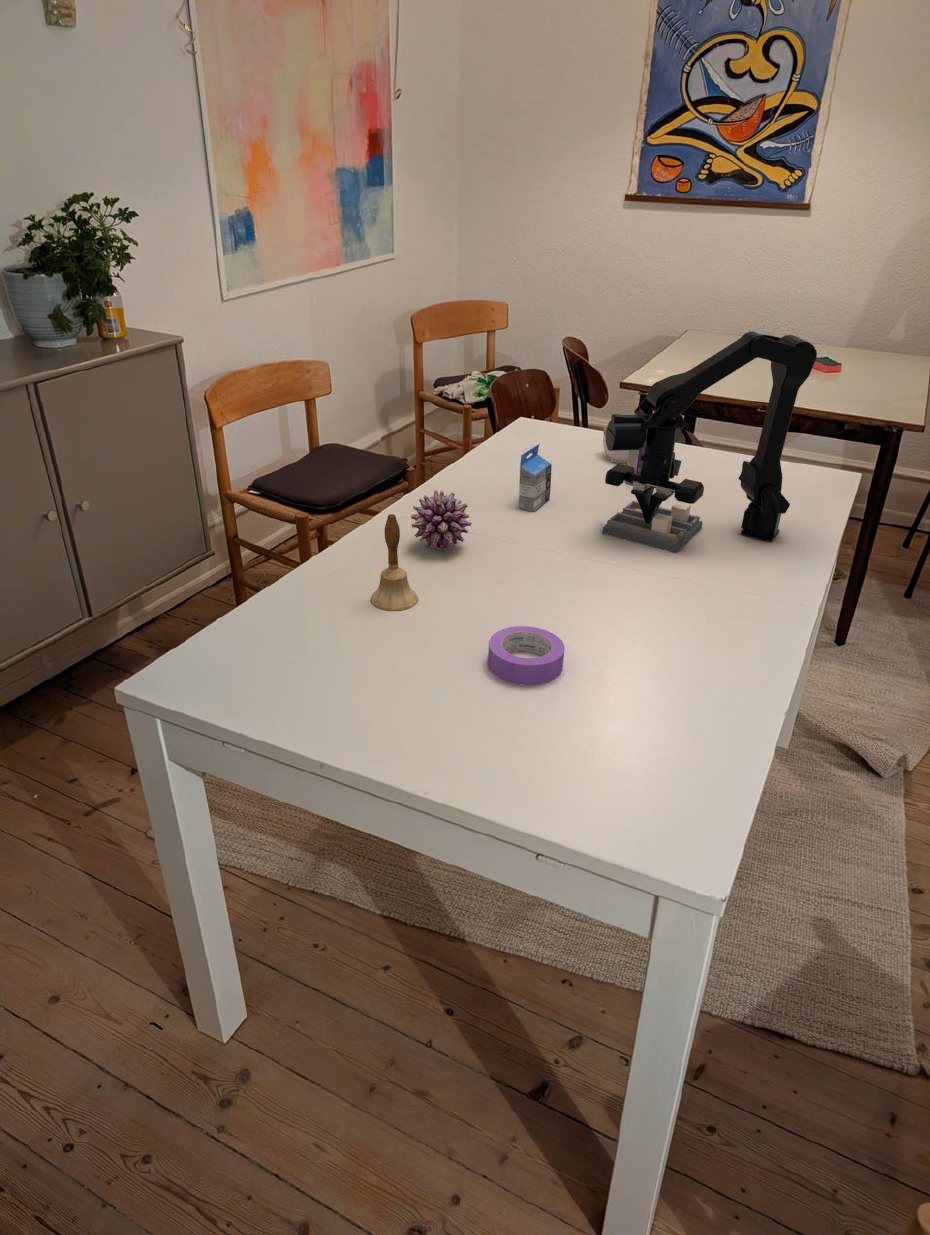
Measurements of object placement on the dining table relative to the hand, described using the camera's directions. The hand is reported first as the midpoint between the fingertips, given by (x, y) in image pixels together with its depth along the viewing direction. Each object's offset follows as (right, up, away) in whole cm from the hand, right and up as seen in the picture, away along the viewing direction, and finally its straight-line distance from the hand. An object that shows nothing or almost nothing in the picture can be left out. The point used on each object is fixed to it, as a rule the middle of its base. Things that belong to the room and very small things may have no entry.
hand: (648, 522), depth 177 cm
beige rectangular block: (+7, +1, +5) cm, 9 cm away
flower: (-42, -6, -6) cm, 43 cm away
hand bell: (-50, -16, -24) cm, 58 cm away
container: (+3, +13, +29) cm, 32 cm away
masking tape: (-28, -27, -41) cm, 56 cm away
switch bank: (+2, -1, +5) cm, 5 cm away
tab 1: (+2, -2, -1) cm, 3 cm away
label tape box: (-22, +6, +16) cm, 27 cm away
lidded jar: (+2, +20, +43) cm, 47 cm away
